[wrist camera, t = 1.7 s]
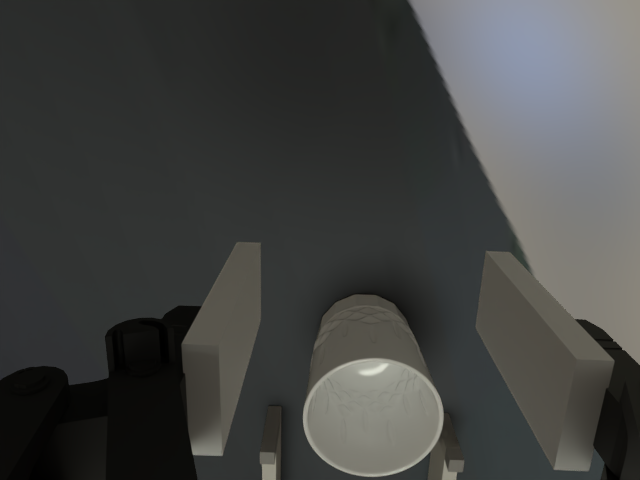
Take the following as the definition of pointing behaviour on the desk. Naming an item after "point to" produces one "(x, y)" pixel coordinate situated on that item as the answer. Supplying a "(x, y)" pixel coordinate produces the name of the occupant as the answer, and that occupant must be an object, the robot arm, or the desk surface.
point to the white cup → (370, 391)
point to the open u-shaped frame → (442, 458)
